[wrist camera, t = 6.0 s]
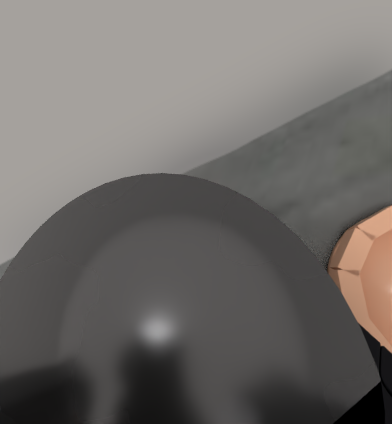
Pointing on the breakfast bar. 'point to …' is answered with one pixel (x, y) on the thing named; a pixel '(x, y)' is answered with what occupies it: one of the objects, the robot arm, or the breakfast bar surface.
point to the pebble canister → (177, 316)
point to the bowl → (367, 273)
